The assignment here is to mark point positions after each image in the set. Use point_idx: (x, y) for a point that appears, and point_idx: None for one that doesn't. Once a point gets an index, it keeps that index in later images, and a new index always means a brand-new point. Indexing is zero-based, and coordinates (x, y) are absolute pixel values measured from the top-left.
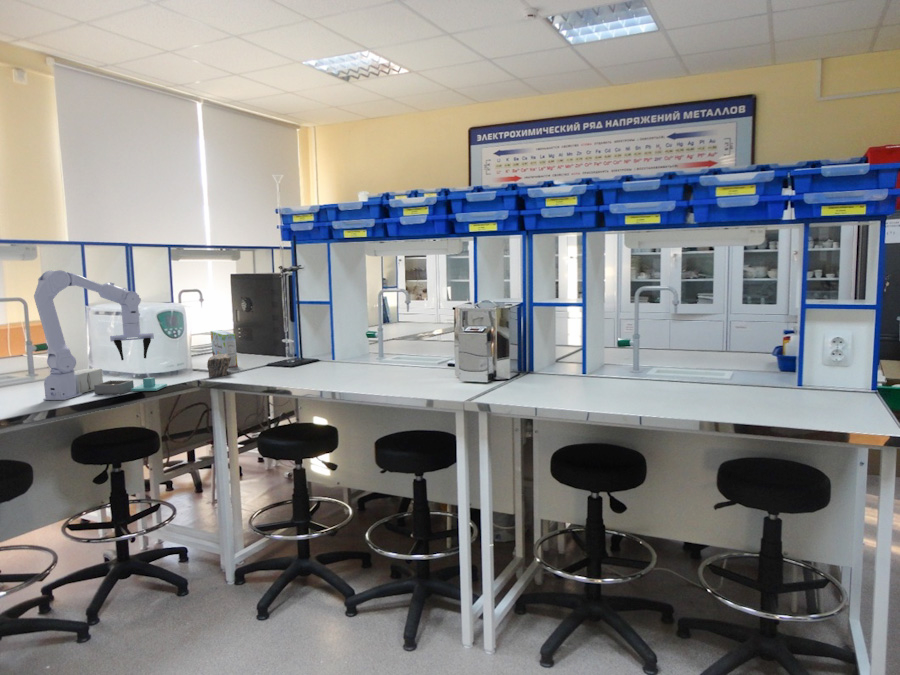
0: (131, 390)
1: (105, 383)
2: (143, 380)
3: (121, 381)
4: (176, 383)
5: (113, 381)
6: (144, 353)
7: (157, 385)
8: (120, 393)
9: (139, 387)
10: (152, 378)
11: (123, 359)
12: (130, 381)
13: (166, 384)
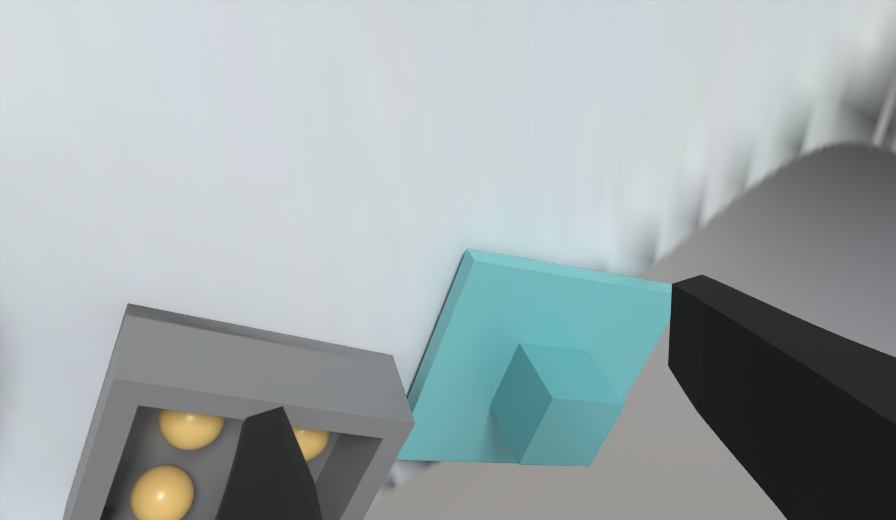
0: None
1: (112, 473)
2: (517, 453)
3: None
4: (767, 137)
5: (178, 405)
6: (734, 450)
7: (602, 356)
8: None
9: (457, 414)
10: (601, 442)
11: (315, 496)
12: (394, 459)
13: None
